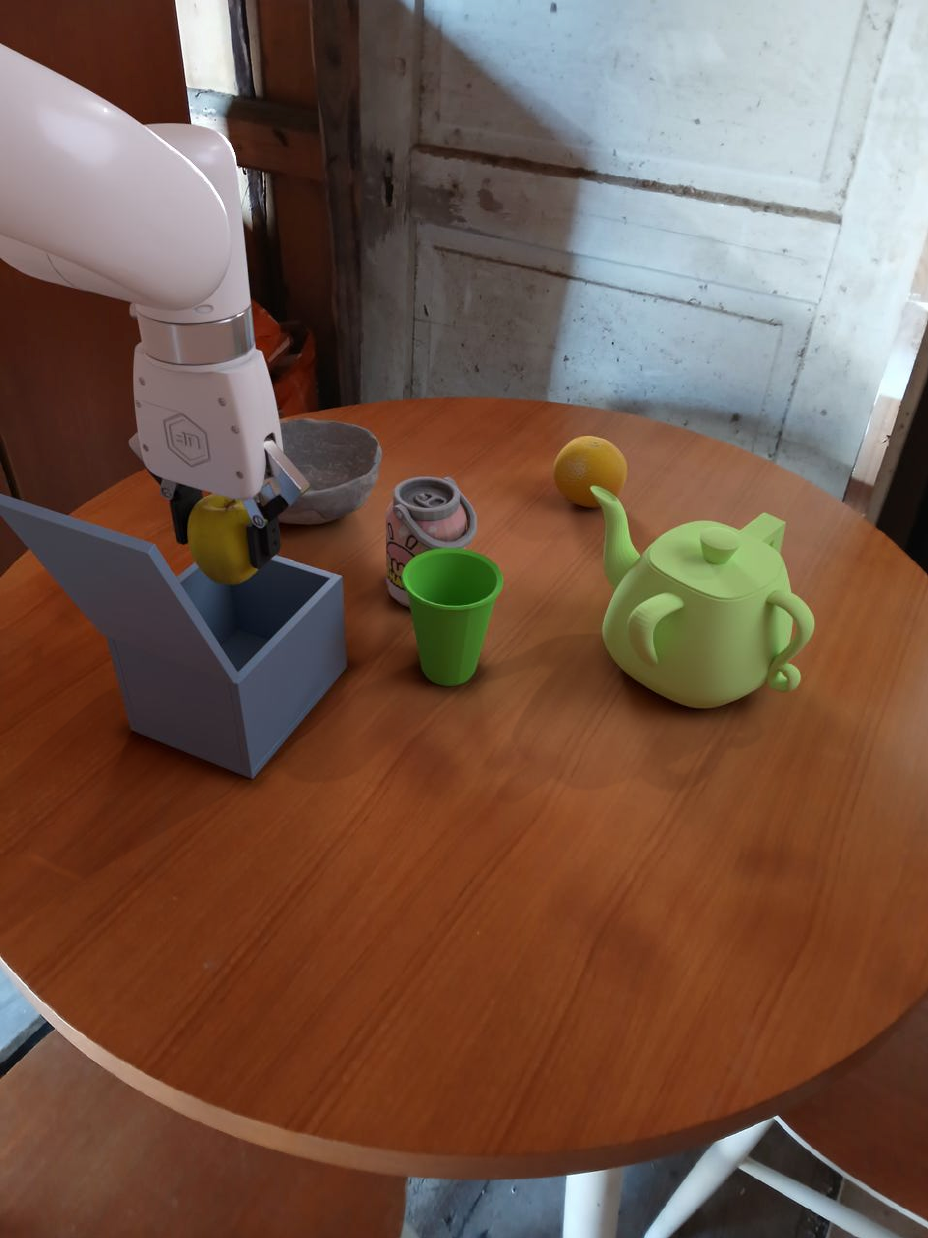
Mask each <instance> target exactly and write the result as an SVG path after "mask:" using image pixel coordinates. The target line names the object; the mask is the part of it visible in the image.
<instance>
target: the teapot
mask: <svg viewBox="0 0 928 1238" xmlns="http://www.w3.org/2000/svg"><path fill="white" fill-rule="evenodd" d="M590 489H591V492H592V494H593V495H594V496H595V498H596V499H597V501H598V502H599V504H600V505H601V506H600V507H601V510H602V512H603V515H604V523H605V534H604V535H605V536H604V543H603V544H604V545H603V556H602V557H603V559H602V560H603V570H604V573H605V577H606V579H607V581H608V583H609V586H610V587H611V589H612V590H613V591H614V593H613V594H612V597H611V599H610V601H609V604H608V607H607V609H606V613H605V615H604V617H603V622H602V628H601V635H602V640H603V643H604V645H605V648H606V649H607V651H608V654H609V655H610V656H611V658H612V660H613V661H614V662H615V663H616V665H617V666H618V667H619V668H620V669H621V670H622V671H623V672H624V673H626V674H627V675H628V676H629V677H630V678H632V679H633V680H635V681H637V682H638V683H640V684H641V685H643V686H644V687H645V688H647V689H649V690H651V691H652V692H654V693H656V694H658V695H660V696H662V697H664V698H666V699H668V700H670V701H672V702H675V703H676V704H680V705H682V706H686V707H689V708H694V709H712V708H713V709H714V708H719V707H723V706H725V705H728V704H730V703H732V702H735V701H737V700H739V699H741V698H744V697H745V696H747V695H749V694H751V693H753V692H754V691H756V690H757V689H759V688H761V687H762V686H764V685H765V684H766V685H767V686H768V687H769V688H770V689H771V690H774V691H775V692H778V693H790V692H792V691H795V690H796V689H797V687H798V686H799V685H800V682H801V680H802V679H801V677H802V676H801V673H800V672H801V671H800V670H799V669H798V667H796V666H795V665H794V664H791V663H789V662H790V661H791V660H792V659H794V658H795V656H797V655H798V654H799V653H800V652H801V651H802V650H803V649H804V648H805V647H806V646H807V644H808V643H809V641H810V640H811V638H812V636H813V634H814V632H815V631H814V630H815V617H814V615H813V611H811V608H809V606H808V605H807V603H806V602H804V600H803V599H802V598H800V597H799V596H798V595H796V594H795V593H793V592H792V589H791V584H790V579H789V574H788V571H787V567H786V563H785V561H784V559H783V556H782V555H781V552H782V547H783V540H784V536H785V535H784V534H785V529H786V524H787V522H786V521H784V520H782V519H780V518H779V517H776V516H774V515H772V514H769V513H767V512H765V511H764V512H762V513H761V514H759V515H758V516H757V517H755V518H754V519H753V520H752V521H750V522H749V523H747V524H746V525H745V526H744V527H743V528H741V529H737V528H735V527H732V526H730V525H727V524H725V523H721V522H718V521H714V520H695V521H691V522H686V523H683V524H680V525H677V526H676V527H673V528H671V529H670V530H667V531H666V532H664V533H663V534H661V535H660V536H659V537H658V538H656V539H655V541H653V542H651V544H650V545H649V546H648V547H647V548H646V549H645V550H644V551H643V552H642V553H641V555H640V553H639V552H638V551H637V550H636V548H635V546H634V544H633V542H632V539H631V535H630V530H629V529H630V528H629V523H628V517H627V513H626V510H625V509H624V506H623V504H622V503H621V501H620V500H619V499H618V498H617V497H615V496H614V495H613V494H611V493H610V492H609V491H607V490H605V489H603V488H601V487H598V486H591V487H590ZM793 623H795V627H796V632H795V635H794V637H793V638H792V637H791V636H792V631H793ZM791 639H792V640H791Z"/></svg>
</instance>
